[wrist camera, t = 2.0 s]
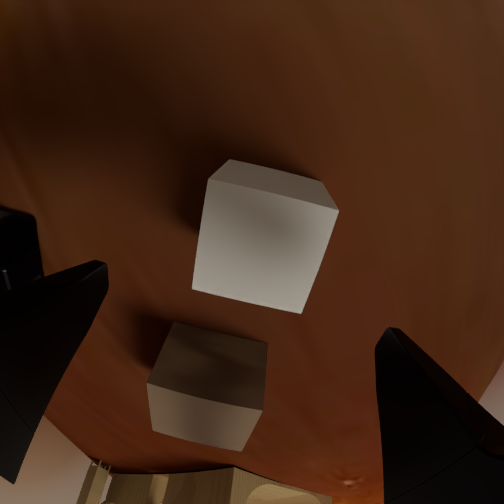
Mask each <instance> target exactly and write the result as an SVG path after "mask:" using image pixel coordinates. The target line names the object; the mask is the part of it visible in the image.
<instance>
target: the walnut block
mask: <svg viewBox="0 0 504 504" xmlns="http://www.w3.org/2000/svg"><path fill="white" fill-rule="evenodd" d="M267 348H268V343H263V342H258V341H253V340H249V339H244V338H239V337H235V336H230V335H226V334H222V333H217V332H213V331H209V330H205V329H201V328H197V327H193V326H189V325H186V324H182V323H178V322H173V324H172V327H171V329H170V331H169V333H168V335H167V338H166V340H165V342H164V344H163V347H162V349H161V351H160V353H159V356H158V358H157V360H156V362H155V365H154V367H153V369H152V372H151V374H150V376H149V379H148V381H147V390H148V399H149V407H150V414H151V422H152V428H153V431H156V432H160V433H163V434H166V435H170V436H173V437H177V438H181V439H185V440H188V441H192V442H197V443H201V444H205V445H210V446H215V447H220V448H225V449H230V450H236V451H242V449H243V447H244V446H245V444H246V442H247V440H248V438H249V436H250V434H251V433H252V431H253V429H254V427H255V425H256V423H257V421H258V419H259V417H260V415H261V413H262V411H263V403H264V390H265V376H266V362H267Z"/></svg>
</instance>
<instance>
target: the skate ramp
mask: <svg viewBox="0 0 504 504" xmlns="http://www.w3.org/2000/svg"><path fill="white" fill-rule="evenodd" d="M101 461H102V460H100V462H99V465H98V466H92V463H93V460H92V462H91V465H90V466H89V469H88V472H87V474H86V477H85V480H84V483H83V486H82V489H81V492H80V495H79V498H78V501H77V504H99V502H100V498H101V495H102V492H103V489H104V485H105V483H106V480H107V477H108V474H109V471H110V468H111V466H109V469H108V471H107V470H105V469H106V465H105V467H104V469H103V468H102V465H101V467H100V464H101ZM163 498H164V500H163ZM162 500H163V504H332V497H329V496H325V495H321V494H317V493H314V492H310V491H306V490H303V489H300V488H296V487H293V486H289V485H286V484H282V483H279V482H276V481H272V480H269V479H266V478H263V477H260V476H257V475H254V474H251V473H249V472H246V471H243V470H240V469H238V468H235V467H232V468H225V469H218V470H210V471H201V472H190V473H176V474H115V473H114V474H113V477H112V480H111V483H110V486H109V489H108V493H107V496H106V500H105V501H104V502H103V503H101V504H160V503H161V501H162Z"/></svg>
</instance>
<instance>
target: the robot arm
mask: <svg viewBox="0 0 504 504" xmlns="http://www.w3.org/2000/svg"><path fill="white" fill-rule="evenodd" d="M108 288H109V281H108V267H107V264H106V263H105V262H101V261H98V260H93V261H90V262H87V263H84V264H81V265H78V266H75V267H72V268H69V269H66V270H63V271H60V272H57V273H54V274H51V275H48V276H46V277H44V275H43V269H42V264H41V258H40V251H39V245H38V237H37V229H36V222H35V219H34V218H33V217H32V216H28V215H25V214H21V213H18V212H14V211H11V210H7V209H4V208H0V476H2V477H3V478H5V479H6V480H7V481H9V482H11V483H12V484H14V483H15V481H16V479H17V476H18V473H19V470H20V467H21V465H22V463H23V460H24V457H25V455H26V452H27V450H28V448H29V445H30V443H31V441H32V438H33V436H34V432H35V431H36V429H37V427H38V424H39V422H40V420H41V418H42V416H43V414H44V412H45V410H46V408H47V406H48V404H49V401H50V399H51V397H52V395H53V394H54V392H55V390H56V388H57V386H58V384H59V382H60V380H61V378H62V376H63V374H64V373H65V371H66V369H67V367H68V365H69V363H70V362H71V360H72V358H73V356H74V355H75V353H76V351H77V349H78V348H79V346H80V344H81V342H82V341H83V339H84V337H85V336H86V334H87V332H88V331H89V329H90V327H91V325H92V323H93V321H94V318H95V316H96V314H97V312H98V310H99V308H100V306H101V304H102V302H103V300H104V298H105V296H106V294H107V291H108ZM375 370H376V393H377V402H378V411H379V420H380V431H381V443H382V457H383V479H384V504H504V426H503V425H502V424H501V423H500V422H499V421H498V420H497V419H495V418H494V417H493V416H492V415H491V414H490V413H489V412H488V411H486V410H485V409H484V408H483V407H482V406H481V405H480V404H479V403H478V402H477V401H476V400H475V399H474V398H473V397H472V396H471V395H470V394H469V393H466V390H464V389H463V388H462V387H461V386H460V385H459V384H458V383H457V382H456V381H455V380H454V379H453V378H452V377H451V376H450V375H449V374H448V373H447V372H446V371H445V370H444V369H443V368H442V367H440V366H439V365H438V364H437V363H436V362H435V361H434V360H433V359H432V358H431V357H430V356H429V355H428V354H427V353H425V352H424V351H423V350H422V349H421V348H420V347H419V346H418V345H417V344H416V343H415V342H413V341H412V340H411V339H410V338H409V337H408V336H407V335H406V334H405V333H404V332H402V331H401V330H400V329H398V328H392V327H389V328H387V329H386V330H385V332H384V333H383V335H382V337H381V338H380V340H379V341H378V343H377V345H376V347H375Z"/></svg>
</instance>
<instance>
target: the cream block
mask: <svg viewBox="0 0 504 504" xmlns="http://www.w3.org/2000/svg"><path fill="white" fill-rule="evenodd" d="M338 212H339V210H338V208H337V206H336V205H335V203H334V201H333V200H332V198H331V196H330V195H329V193H328V191H327V190H326V188H325V187H324V185H323V183H322V182H321V181H318V180H314V179H311V178H307V177H303V176H299V175H295V174H292V173H288V172H284V171H280V170H275V169H271V168H267V167H263V166H259V165H254V164H250V163H245V162H240V161H236V160H231V159H229V160H228V161H227V162H226V163H225V164H224V165H223V166H222V167H220V168H219V169H218V170H217V171H216V172H215V173H214V174H213V175H212V176H211V177H210V178H209V179H208V183H207V189H206V195H205V201H204V207H203V213H202V220H201V226H200V233H199V240H198V247H197V254H196V261H195V269H194V276H193V284H192V289H194V290H198V291H202V292H206V293H210V294H214V295H219V296H223V297H227V298H231V299H235V300H240V301H244V302H249V303H253V304H258V305H262V306H267V307H271V308H276V309H281V310H285V311H290V312H295V313H300V314H301V313H302V310H303V308H304V305H305V303H306V300H307V298H308V295H309V293H310V290H311V287H312V285H313V282H314V280H315V277H316V274H317V272H318V269H319V266H320V264H321V261H322V258H323V255H324V253H325V250H326V247H327V244H328V242H329V239H330V236H331V233H332V230H333V227H334V224H335V221H336V218H337V215H338Z"/></svg>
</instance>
